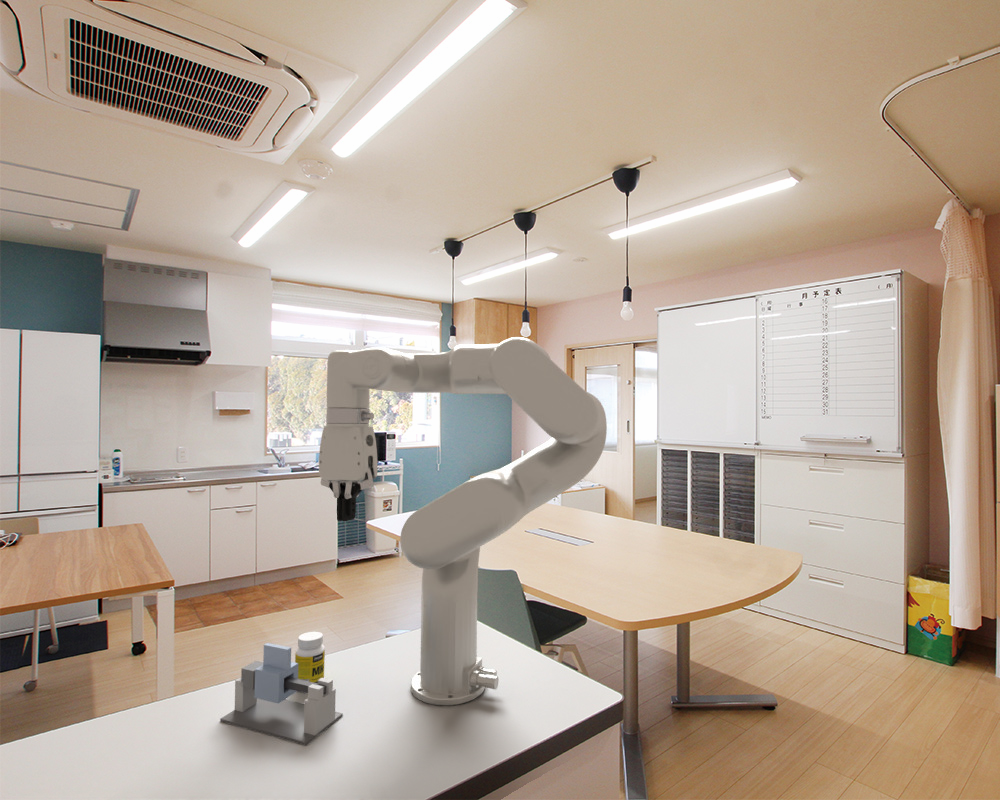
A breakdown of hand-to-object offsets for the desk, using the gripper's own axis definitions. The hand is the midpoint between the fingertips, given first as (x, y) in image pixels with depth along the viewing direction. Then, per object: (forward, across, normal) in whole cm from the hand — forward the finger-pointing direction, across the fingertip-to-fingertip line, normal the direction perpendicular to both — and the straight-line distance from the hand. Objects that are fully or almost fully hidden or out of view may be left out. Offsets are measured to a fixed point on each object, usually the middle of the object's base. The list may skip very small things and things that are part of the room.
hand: (346, 519), depth 98 cm
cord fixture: (+27, -1, +16) cm, 31 cm away
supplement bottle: (+27, +2, +6) cm, 28 cm away
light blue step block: (+24, 0, +16) cm, 29 cm away
